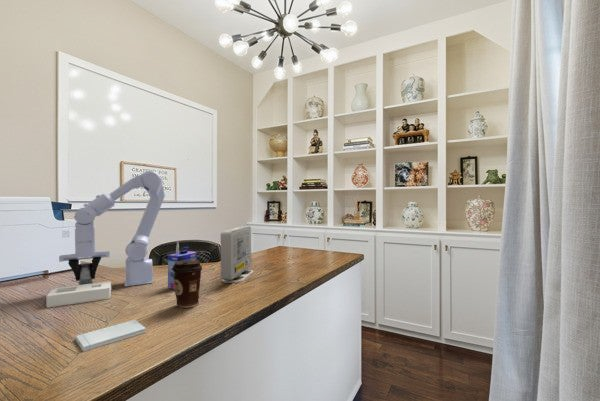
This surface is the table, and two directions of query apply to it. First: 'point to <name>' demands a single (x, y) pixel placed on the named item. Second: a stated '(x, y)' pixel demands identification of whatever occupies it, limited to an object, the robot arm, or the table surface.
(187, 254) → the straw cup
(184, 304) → the coffee cup
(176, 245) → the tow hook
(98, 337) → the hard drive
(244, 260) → the network device
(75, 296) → the block
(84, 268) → the pipe stub
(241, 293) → the table surface
